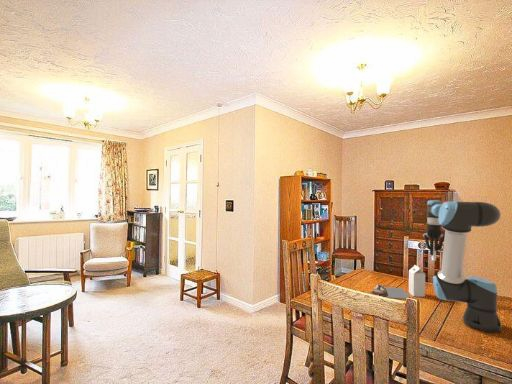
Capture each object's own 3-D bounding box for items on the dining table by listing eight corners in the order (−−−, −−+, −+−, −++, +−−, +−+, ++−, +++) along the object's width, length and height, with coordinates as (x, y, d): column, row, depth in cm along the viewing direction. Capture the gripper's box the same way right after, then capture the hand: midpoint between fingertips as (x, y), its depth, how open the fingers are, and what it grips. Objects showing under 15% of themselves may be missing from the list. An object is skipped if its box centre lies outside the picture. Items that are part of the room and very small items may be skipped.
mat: (413, 299, 170) (413, 299, 170) (383, 297, 174) (383, 296, 174) (402, 288, 190) (402, 288, 190) (376, 287, 194) (376, 286, 194)
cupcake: (371, 297, 174) (372, 282, 174) (388, 300, 169) (388, 284, 169) (369, 302, 165) (369, 286, 165) (387, 306, 160) (387, 289, 160)
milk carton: (419, 293, 182) (419, 264, 182) (425, 297, 175) (425, 267, 175) (408, 292, 183) (408, 264, 183) (413, 296, 176) (413, 267, 176)
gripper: (442, 223, 180) (442, 259, 180) (420, 223, 182) (420, 258, 182) (448, 225, 172) (447, 262, 172) (425, 224, 175) (425, 261, 175)
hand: (433, 260), depth 177 cm, fingers closed
